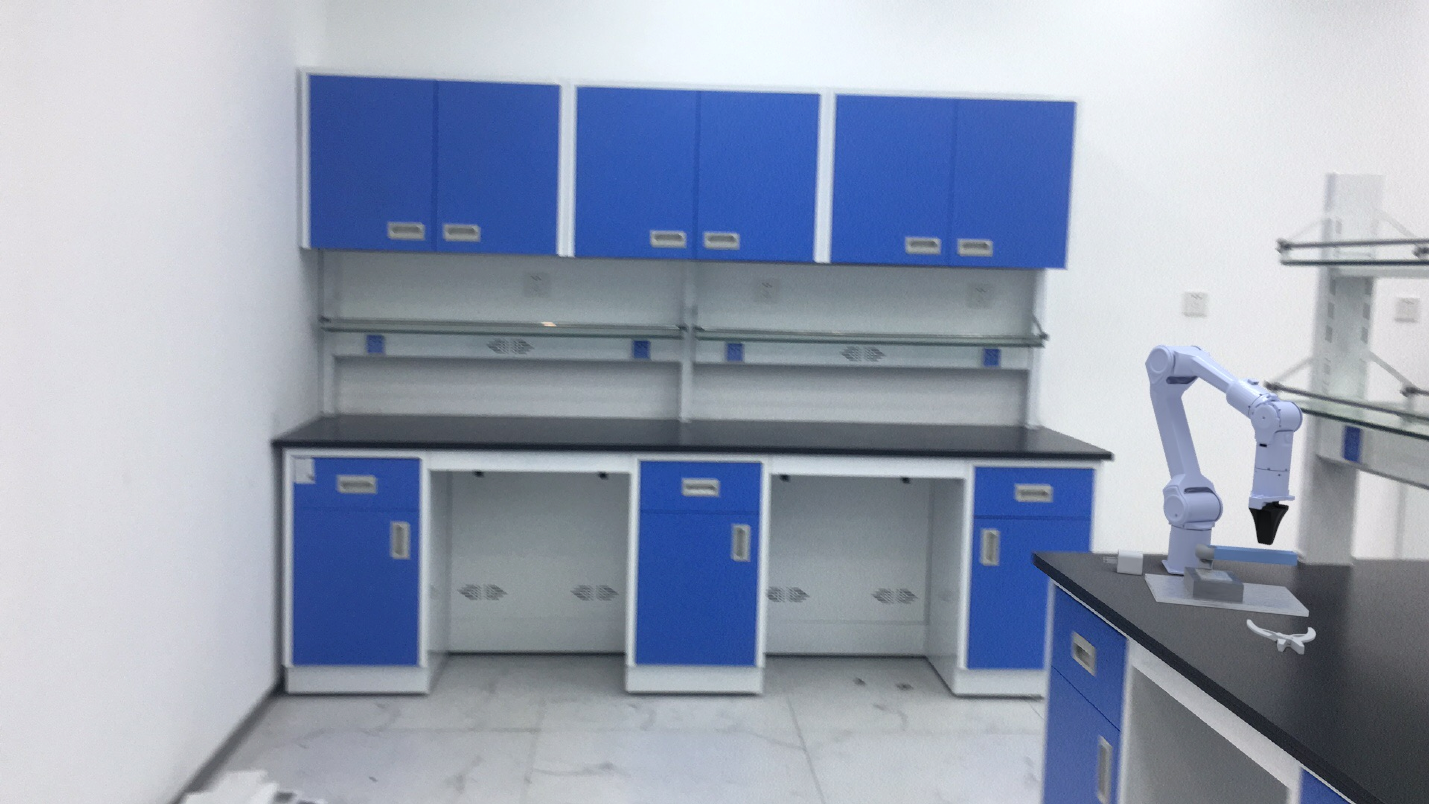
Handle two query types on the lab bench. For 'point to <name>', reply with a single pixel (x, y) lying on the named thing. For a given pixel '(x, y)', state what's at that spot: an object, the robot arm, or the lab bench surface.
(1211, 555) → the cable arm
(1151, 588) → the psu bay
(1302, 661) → the lab bench surface
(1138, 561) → the usb wall charger
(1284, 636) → the pliers
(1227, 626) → the lab bench surface
